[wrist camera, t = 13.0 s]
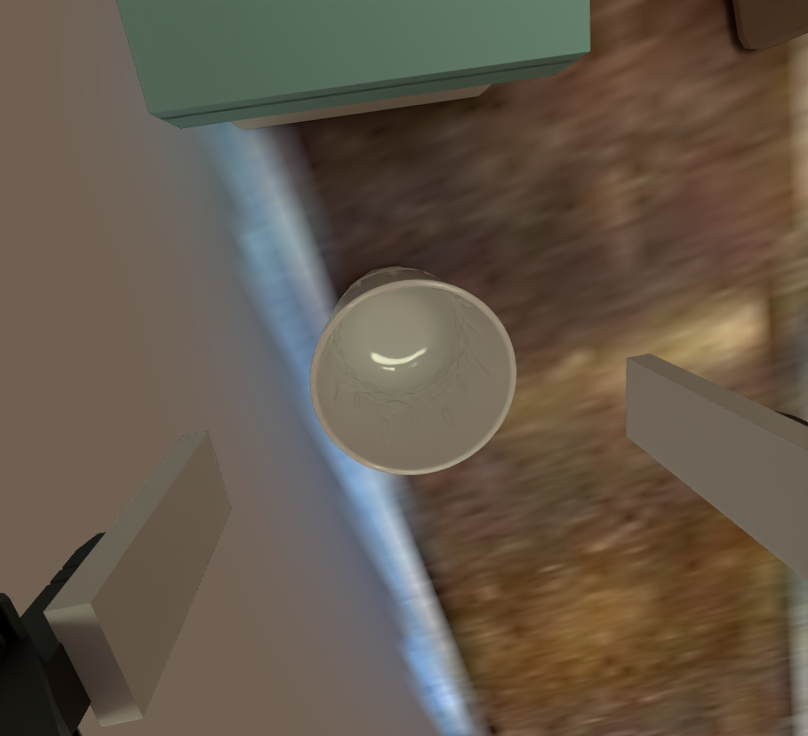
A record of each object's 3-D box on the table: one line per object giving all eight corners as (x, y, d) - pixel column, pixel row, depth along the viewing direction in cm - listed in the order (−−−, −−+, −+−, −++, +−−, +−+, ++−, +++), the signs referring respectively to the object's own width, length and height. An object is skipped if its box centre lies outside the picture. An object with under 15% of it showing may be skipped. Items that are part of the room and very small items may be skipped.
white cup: (302, 286, 26) (272, 330, 17) (434, 232, 26) (480, 245, 16) (358, 406, 29) (360, 503, 19) (478, 358, 28) (540, 432, 19)
